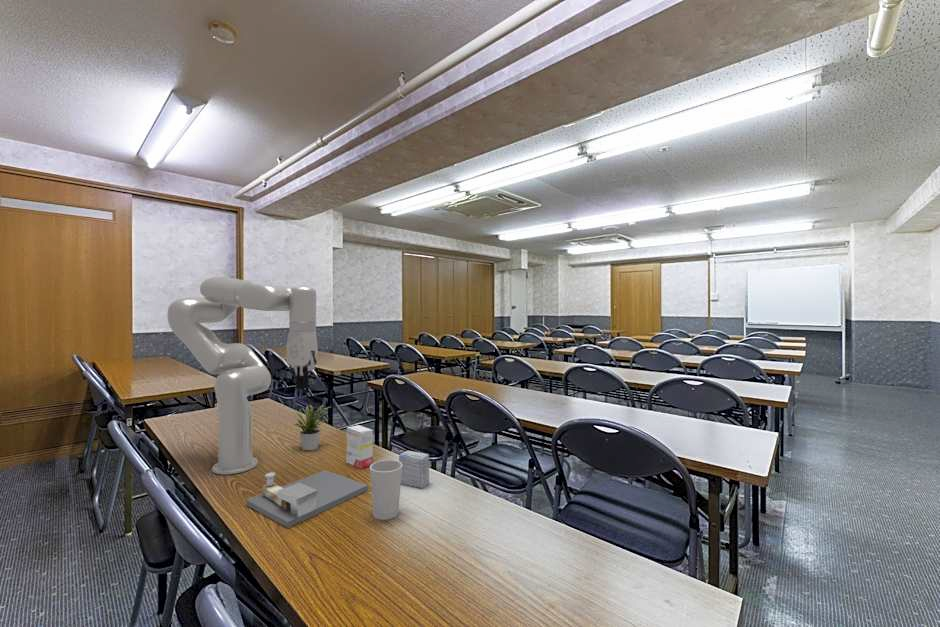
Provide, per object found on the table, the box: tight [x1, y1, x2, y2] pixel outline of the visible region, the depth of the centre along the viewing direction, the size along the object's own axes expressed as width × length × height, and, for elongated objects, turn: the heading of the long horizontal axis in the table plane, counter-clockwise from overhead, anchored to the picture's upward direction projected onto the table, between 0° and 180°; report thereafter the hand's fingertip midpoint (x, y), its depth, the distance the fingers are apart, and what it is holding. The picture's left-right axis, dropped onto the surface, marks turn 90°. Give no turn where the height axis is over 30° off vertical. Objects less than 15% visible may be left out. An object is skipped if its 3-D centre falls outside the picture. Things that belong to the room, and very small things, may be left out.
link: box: [262, 482, 291, 510], centre depth 104 cm, size 14×4×2 cm, turn 50°
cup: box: [369, 459, 402, 521], centre depth 101 cm, size 8×8×12 cm
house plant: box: [292, 403, 331, 451], centre depth 148 cm, size 14×14×16 cm
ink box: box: [345, 424, 374, 469], centre depth 134 cm, size 9×5×12 cm, turn 49°
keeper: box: [277, 483, 318, 517], centre depth 100 cm, size 8×6×4 cm
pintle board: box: [245, 469, 369, 529], centre depth 109 cm, size 19×24×7 cm
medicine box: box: [398, 450, 430, 489], centre depth 119 cm, size 8×4×9 cm, turn 65°
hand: (302, 388), depth 123 cm, fingers closed
